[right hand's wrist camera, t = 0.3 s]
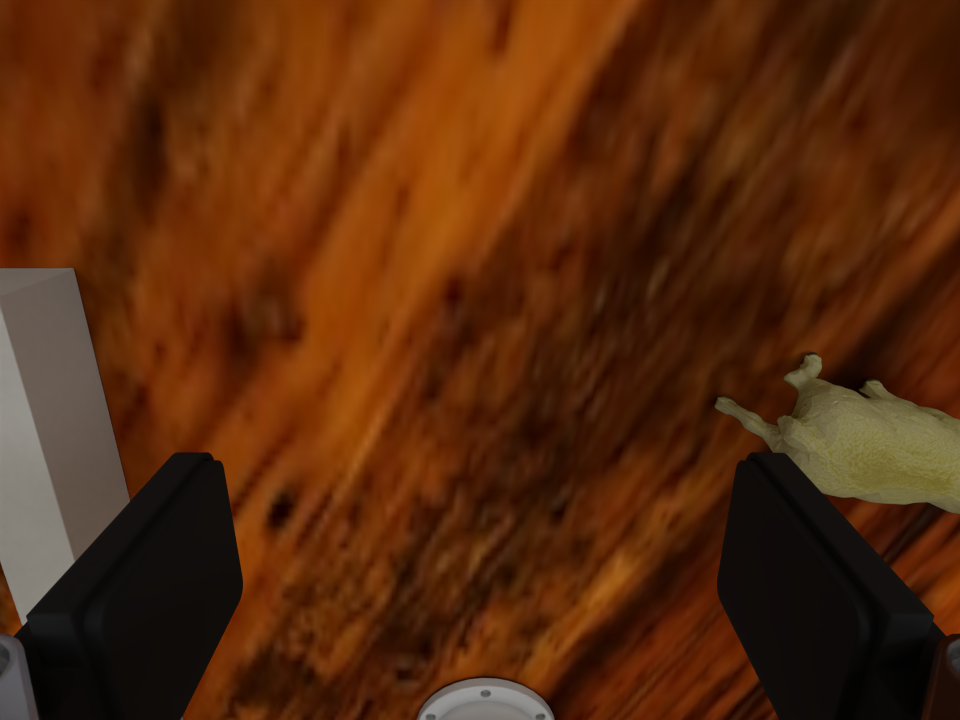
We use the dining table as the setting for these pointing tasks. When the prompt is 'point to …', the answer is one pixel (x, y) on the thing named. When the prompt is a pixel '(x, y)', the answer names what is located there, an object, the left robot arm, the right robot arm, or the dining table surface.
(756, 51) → the dining table surface
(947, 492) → the toy
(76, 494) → the bar
